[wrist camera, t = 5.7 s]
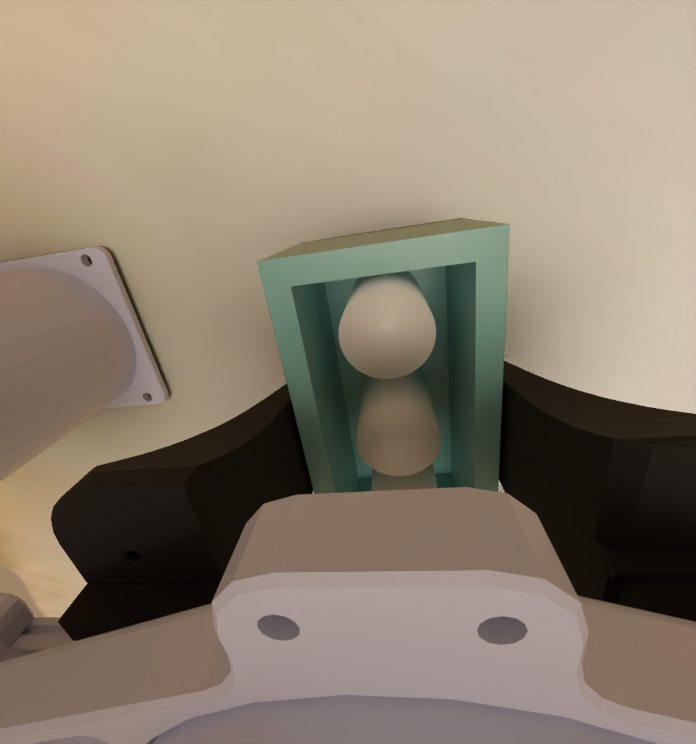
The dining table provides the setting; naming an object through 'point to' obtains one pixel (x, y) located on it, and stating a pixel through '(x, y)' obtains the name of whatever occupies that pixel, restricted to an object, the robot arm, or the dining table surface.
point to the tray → (450, 362)
